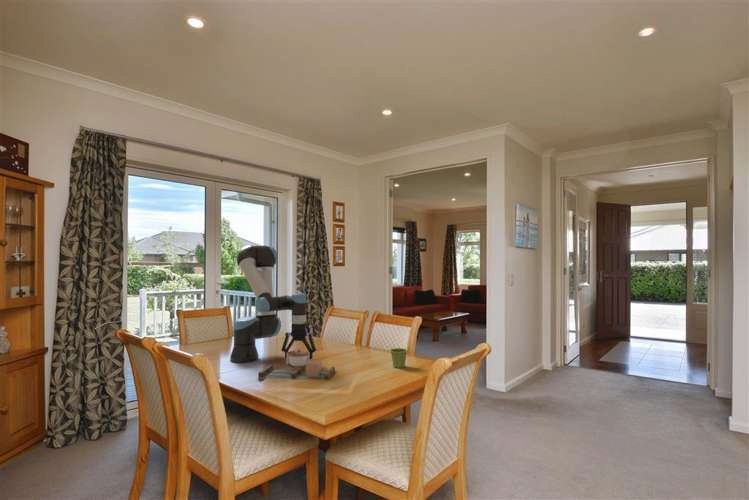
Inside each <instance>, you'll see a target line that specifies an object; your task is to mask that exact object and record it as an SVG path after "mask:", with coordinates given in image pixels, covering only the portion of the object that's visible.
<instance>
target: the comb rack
mask: <svg viewBox="0 0 749 500" xmlns="http://www.w3.org/2000/svg"><path fill="white" fill-rule="evenodd" d="M304 367H305V365H304V366H298V367H297V368H296V369H294V368H293V369H287V368H274V365H273V364H269V365H267V366H266V367H265V368H263V369H262V370H260V371H259V372H258V373H257V376H258V377H257V378H258V379H257V380H258V381H265V380H266V379H271V378H272V379H293V380H294V379H297V380H321V381H322V380H325V381H326V380H327V381H328V380H329V379H330V378H331V376H332V375H333V374H334V372H335V370H336V367H335V366H331V367H330V368H329V369H328V370H324V369H323V370H322V369H321V374H320V375H319V376H306V369H304Z"/></svg>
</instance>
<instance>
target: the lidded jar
mask: <svg viewBox="0 0 749 500" xmlns="http://www.w3.org/2000/svg"><path fill="white" fill-rule="evenodd" d="M288 352H289V353H288V355H289V365H290V366H291V367H292V366H293V367H300V366H304V367H305V366H306V363H307V362H308V353H309V351H308V350H307V349H306V350H305V349H301V348H297V349H296V350H290V351H288Z"/></svg>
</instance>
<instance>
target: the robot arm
mask: <svg viewBox="0 0 749 500" xmlns="http://www.w3.org/2000/svg"><path fill="white" fill-rule="evenodd" d="M278 258H279V257H278V252H277V250H276V249H275V247H274V246H271V245H254V244H253V245H251V244H250V245H249V244H248V245H245V246H242V248H241V249H240V250H239V251H238V252H237V255H236V264H237V266H238V268H239V270H240V271H242V272H243V274H244V276H245V278H246V281H247V282H248V284H249V287H250V289H251V291H252V292H253V295H254V296H255V298H256V299H255V301H254V305H255V311H257V313H256V315H255V316H253V315H252V316H242V317H240V318H237V319H235V321H234V322H233V348H232V351H231V354H230V359H229V360H230V362H232V363H241V364H242V363H250V362H254V361H258V360H259V352H258V349H257V346H256V340H259V339H266V338H267V339H268V338H273V337H277V336H278V335H279V333H280V331H281V329H282V321H281V318H280V317H279V316H278V315H277V313H276V312H280V311H291V332H290V331H289V332H288V331H287V332H285V338H284V341H283V344H282V346H281V347H282V348H281V349H280V350H281V352H284V359H286V365H287V366H288V365H290V363H289V355H288V353H289V352H290V351H289V350H290V349H291V348H292V347H293V344H294V343H295V342H297V341H298V342H302V343H303V344H304V346H305V347H306V350H307V351H309V353H308V361H309V360H313V356H314V354H313V353H315V352H316V351H317V349H316V345H315V342H314V339H313V332H310V333H309V332H307V323H306V322H307V294H306V293H303V292H295V293H292V294H291V295H280V296H274V292H273V273H272V271H273V269H274V268H275V265H277V263H278ZM290 337H292V338H291V340H290V342H289V339H290ZM307 338H308V341H307ZM288 342H289V343H288Z"/></svg>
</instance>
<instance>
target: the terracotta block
mask: <svg viewBox="0 0 749 500" xmlns="http://www.w3.org/2000/svg"><path fill="white" fill-rule="evenodd" d="M305 370H306V376H319V375H320V374H321V370H322V360H316V359H315V360H313V359H311V360H309V361H308V362H307V363H306V365H305Z"/></svg>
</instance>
